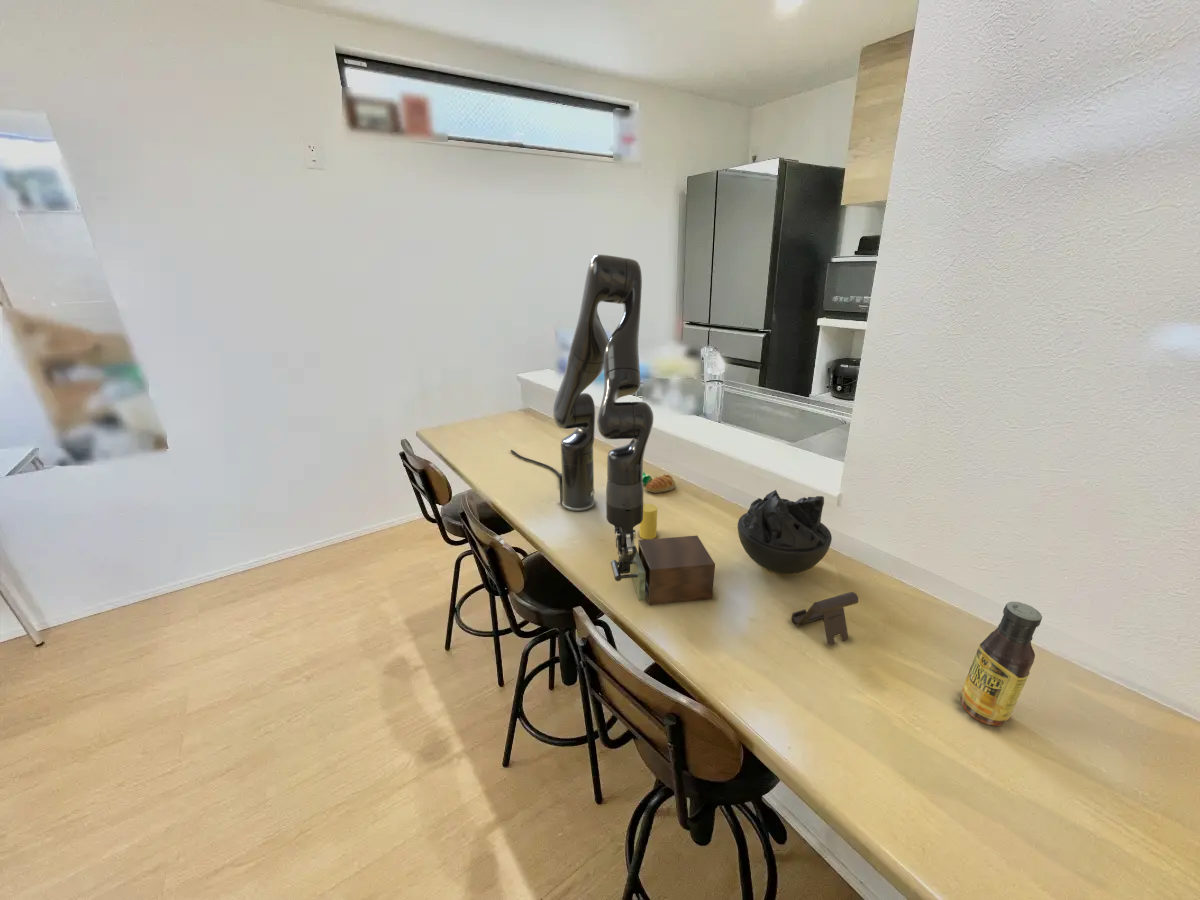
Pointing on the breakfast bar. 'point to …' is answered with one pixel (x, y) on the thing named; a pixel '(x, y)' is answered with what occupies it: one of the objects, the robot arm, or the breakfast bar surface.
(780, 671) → the breakfast bar surface
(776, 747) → the breakfast bar surface
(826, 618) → the tablet stand
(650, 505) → the canister
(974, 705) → the sauce bottle
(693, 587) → the cabinet
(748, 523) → the coal bowl
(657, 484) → the pastry
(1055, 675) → the breakfast bar surface
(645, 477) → the candy
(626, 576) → the drawer
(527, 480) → the breakfast bar surface
